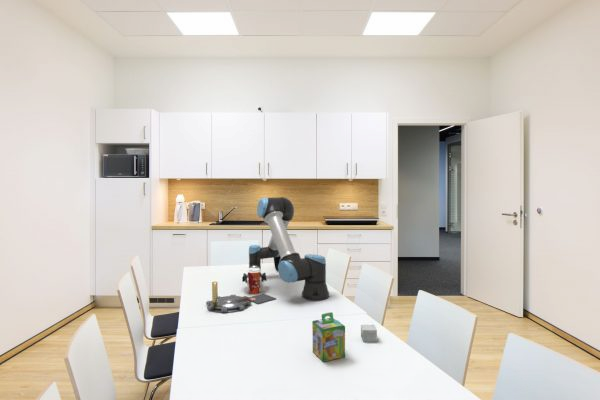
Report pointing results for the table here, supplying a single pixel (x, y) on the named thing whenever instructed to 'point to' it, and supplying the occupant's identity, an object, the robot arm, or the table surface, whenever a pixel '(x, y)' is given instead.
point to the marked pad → (261, 298)
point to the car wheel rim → (276, 262)
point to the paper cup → (254, 280)
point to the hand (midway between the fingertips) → (254, 282)
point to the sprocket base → (228, 310)
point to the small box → (368, 333)
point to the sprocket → (226, 301)
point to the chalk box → (328, 338)
